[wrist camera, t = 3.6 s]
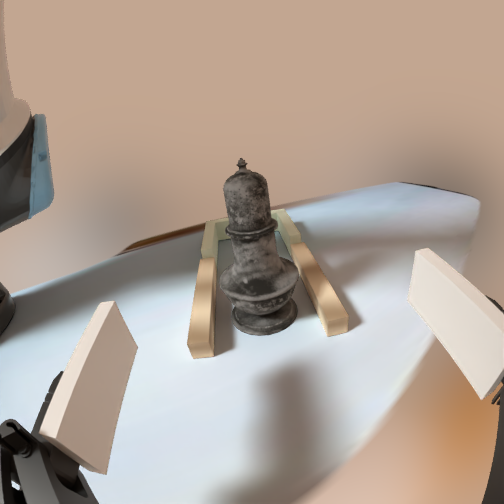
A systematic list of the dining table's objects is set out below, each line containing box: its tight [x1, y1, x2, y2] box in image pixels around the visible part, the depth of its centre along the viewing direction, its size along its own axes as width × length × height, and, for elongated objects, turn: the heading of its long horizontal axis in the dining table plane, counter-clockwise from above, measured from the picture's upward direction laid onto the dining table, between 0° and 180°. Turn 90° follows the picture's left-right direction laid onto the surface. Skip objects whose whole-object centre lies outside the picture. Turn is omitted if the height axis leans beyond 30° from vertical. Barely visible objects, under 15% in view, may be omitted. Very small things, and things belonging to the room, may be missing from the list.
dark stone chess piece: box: [219, 158, 299, 336], centre depth 19 cm, size 6×6×12 cm
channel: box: [187, 242, 349, 359], centre depth 23 cm, size 12×11×2 cm
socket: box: [201, 209, 301, 267], centre depth 32 cm, size 9×10×2 cm
